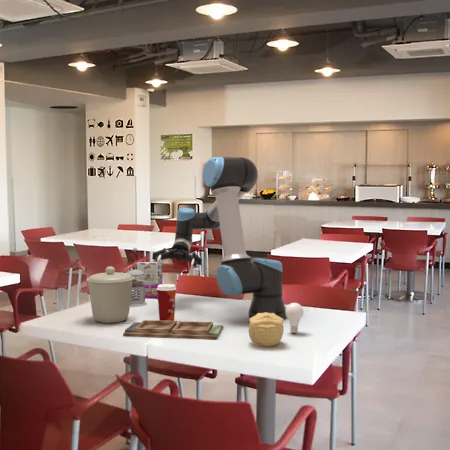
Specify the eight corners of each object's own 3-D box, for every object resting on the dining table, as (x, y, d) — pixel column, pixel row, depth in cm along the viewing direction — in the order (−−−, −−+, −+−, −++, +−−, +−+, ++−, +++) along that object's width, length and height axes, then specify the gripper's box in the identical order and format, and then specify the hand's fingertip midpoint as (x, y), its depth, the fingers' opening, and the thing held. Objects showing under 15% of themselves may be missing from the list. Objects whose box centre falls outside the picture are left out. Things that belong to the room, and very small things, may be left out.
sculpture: (249, 349, 190) (249, 316, 190) (247, 339, 202) (247, 308, 201) (285, 349, 190) (285, 316, 190) (281, 339, 202) (281, 308, 202)
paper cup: (175, 323, 224) (175, 287, 223) (155, 323, 225) (155, 287, 224) (177, 318, 232) (177, 283, 231) (158, 318, 232) (157, 283, 231)
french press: (128, 301, 265) (127, 246, 264) (153, 302, 264) (152, 246, 262) (121, 306, 256) (120, 248, 254) (147, 307, 254) (146, 249, 252)
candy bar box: (162, 296, 277) (162, 261, 276) (159, 298, 272) (159, 263, 271) (139, 295, 279) (139, 261, 278) (136, 298, 274) (135, 262, 273)
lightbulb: (298, 336, 206) (298, 305, 205) (282, 334, 209) (282, 303, 208) (306, 332, 211) (306, 302, 210) (289, 330, 214) (290, 300, 213)
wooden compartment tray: (223, 327, 218) (223, 321, 218) (216, 339, 202) (216, 332, 202) (136, 325, 222) (136, 318, 222) (123, 336, 207) (123, 329, 206)
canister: (111, 313, 243) (110, 262, 241) (144, 318, 233) (143, 265, 231) (77, 321, 228) (76, 267, 227) (110, 328, 218) (109, 271, 216)
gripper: (208, 261, 256) (204, 277, 236) (151, 254, 257) (142, 270, 236) (210, 244, 255) (206, 259, 234) (152, 237, 255) (144, 252, 234)
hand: (174, 265), depth 235 cm, fingers open, 13 cm apart
